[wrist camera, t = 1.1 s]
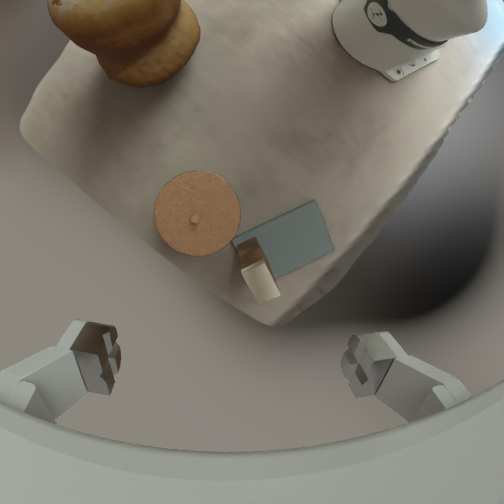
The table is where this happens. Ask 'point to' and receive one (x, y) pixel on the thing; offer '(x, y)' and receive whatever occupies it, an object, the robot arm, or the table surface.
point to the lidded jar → (197, 213)
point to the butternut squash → (131, 35)
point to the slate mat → (291, 238)
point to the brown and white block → (257, 271)
